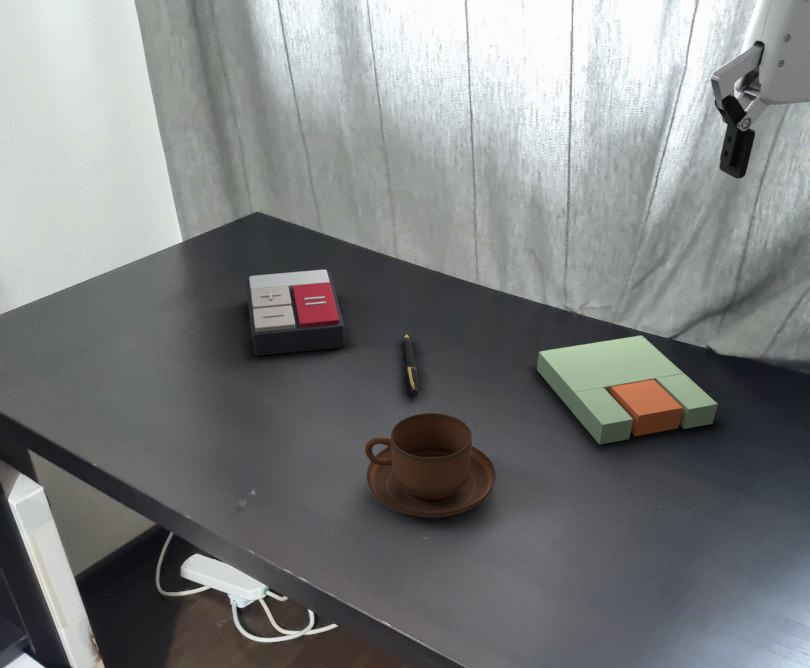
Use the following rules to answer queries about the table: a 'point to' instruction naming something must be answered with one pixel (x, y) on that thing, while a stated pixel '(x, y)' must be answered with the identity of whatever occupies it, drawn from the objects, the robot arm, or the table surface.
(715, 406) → the base pad
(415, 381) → the fountain pen
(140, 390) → the table surface
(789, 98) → the robot arm
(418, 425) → the cup and saucer
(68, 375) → the table surface
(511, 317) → the table surface
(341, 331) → the calculator
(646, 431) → the orange block
